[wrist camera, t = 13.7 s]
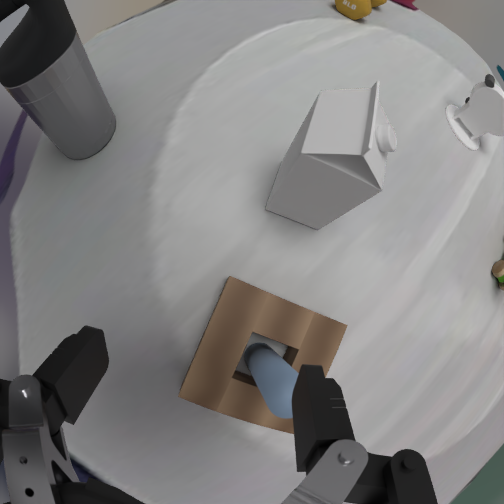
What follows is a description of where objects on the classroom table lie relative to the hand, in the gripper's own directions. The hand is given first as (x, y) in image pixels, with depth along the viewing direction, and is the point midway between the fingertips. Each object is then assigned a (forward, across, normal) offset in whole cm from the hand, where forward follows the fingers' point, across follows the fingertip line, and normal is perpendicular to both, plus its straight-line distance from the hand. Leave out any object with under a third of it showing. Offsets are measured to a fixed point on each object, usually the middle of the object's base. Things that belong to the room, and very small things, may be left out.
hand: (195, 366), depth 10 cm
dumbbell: (+55, -20, -53) cm, 79 cm away
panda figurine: (+43, -44, -25) cm, 66 cm away
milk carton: (+28, -7, -4) cm, 29 cm away
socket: (+18, -4, +14) cm, 23 cm away
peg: (+18, -4, +14) cm, 23 cm away
